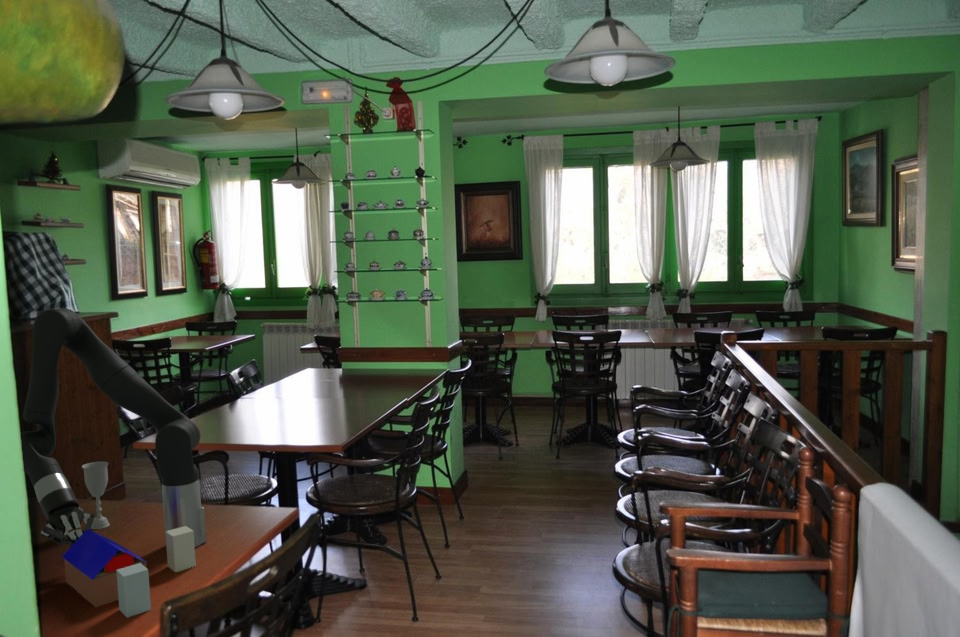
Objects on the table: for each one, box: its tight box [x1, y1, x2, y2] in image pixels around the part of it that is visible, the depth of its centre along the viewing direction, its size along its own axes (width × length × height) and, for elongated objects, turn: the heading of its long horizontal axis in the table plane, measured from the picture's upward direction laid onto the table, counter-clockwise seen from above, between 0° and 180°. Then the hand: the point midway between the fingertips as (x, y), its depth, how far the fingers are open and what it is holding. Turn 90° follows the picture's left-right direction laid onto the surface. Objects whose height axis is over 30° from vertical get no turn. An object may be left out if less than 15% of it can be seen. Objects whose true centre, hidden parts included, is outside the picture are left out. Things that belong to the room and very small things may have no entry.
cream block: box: [164, 526, 197, 573], centre depth 185 cm, size 5×5×9 cm
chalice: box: [81, 461, 111, 530], centre depth 215 cm, size 7×7×18 cm
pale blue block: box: [116, 563, 152, 618], centre depth 162 cm, size 5×5×9 cm
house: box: [61, 529, 148, 608], centre depth 175 cm, size 12×20×12 cm, turn 46°
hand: (82, 554), depth 182 cm, fingers closed
